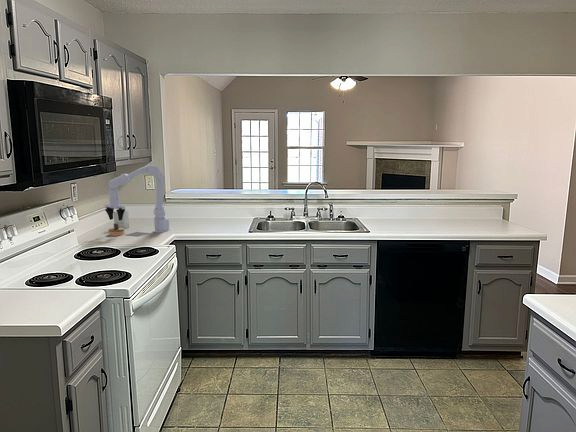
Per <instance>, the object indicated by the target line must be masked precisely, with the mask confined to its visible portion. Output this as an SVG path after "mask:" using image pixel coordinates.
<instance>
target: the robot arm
mask: <svg viewBox="0 0 576 432" xmlns="http://www.w3.org/2000/svg"><path fill="white" fill-rule="evenodd" d="M147 174H148V175H150V176H152V177H153V178H154V179H155V180H156V186H155V188H156V190H155V206H154V207H155V209H154V210H153V215H154V217H153V221H154V222H153V223H154V225H153V226H154V230H152V231H151V232H152V233H164V232H168V231H170V222H169V221H170V220H169V218H168V217H166V213H165V207H164V206H165V205H164V197H165V195H164V190H165V186H164V185H165V177H164V175H163V173H162V171H161V170H160V168H159V167H157V166H156V165H154V164H148V165H144V166H142V167H140V168H138V169H136V170H134V171H132V172H130V173H121V174H120V175H119V176H117V177H113V179H110V180H109V181H108V184H107V185H108V197H109V204H104V208H105V212H106V213H107V216H108V218H109V221H110V220H114V214H113V211H117V213H118V218H119V221H120V220H122V218H123V214H124V212H125V210H126V206H125V205H122V204H120V192H119V187H122V186H123V185H125V184H127V183H129V182H130V181H131V179H133V178H135V177H138V176H139V175H147ZM115 209H116V210H115Z"/></svg>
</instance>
